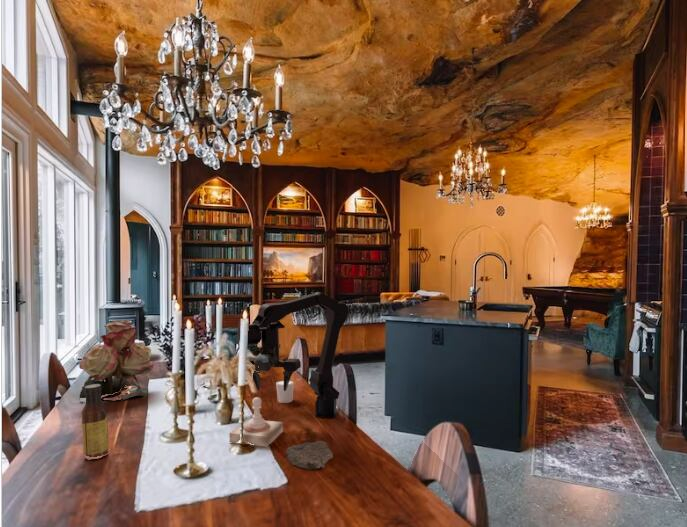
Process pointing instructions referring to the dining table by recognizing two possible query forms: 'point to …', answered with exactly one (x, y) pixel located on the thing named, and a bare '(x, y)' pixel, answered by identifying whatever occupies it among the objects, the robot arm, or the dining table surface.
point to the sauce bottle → (94, 423)
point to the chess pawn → (256, 415)
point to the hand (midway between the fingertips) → (271, 390)
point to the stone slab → (309, 455)
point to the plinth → (258, 433)
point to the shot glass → (284, 392)
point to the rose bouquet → (117, 361)
